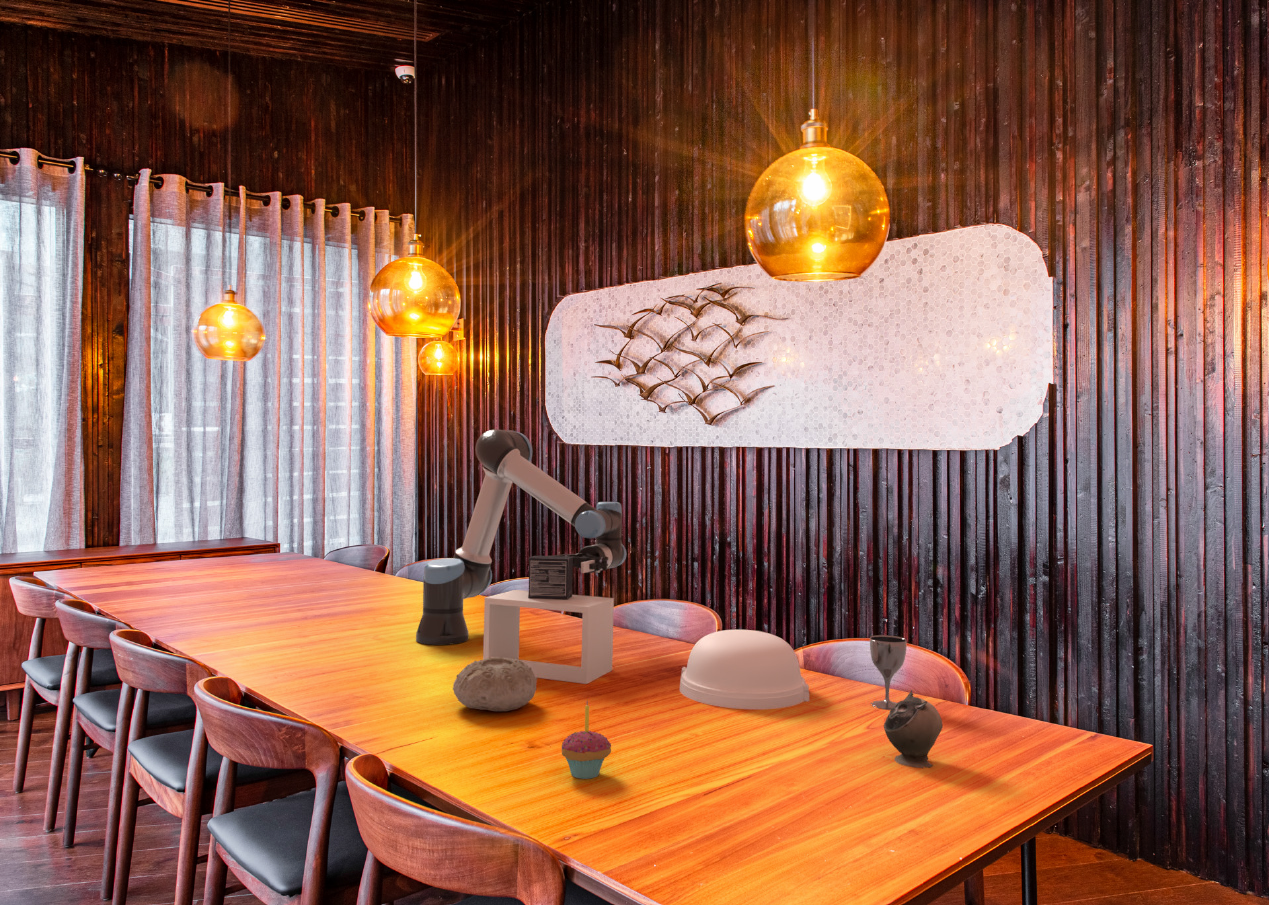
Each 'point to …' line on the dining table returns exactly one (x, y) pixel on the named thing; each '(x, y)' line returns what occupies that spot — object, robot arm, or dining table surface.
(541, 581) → the small box
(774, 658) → the dome cover
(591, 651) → the cubby
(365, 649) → the dining table surface
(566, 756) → the cupcake
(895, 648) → the wine glass
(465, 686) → the decorative shell
